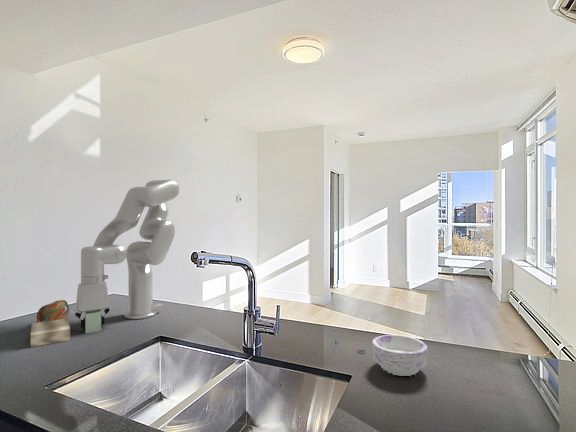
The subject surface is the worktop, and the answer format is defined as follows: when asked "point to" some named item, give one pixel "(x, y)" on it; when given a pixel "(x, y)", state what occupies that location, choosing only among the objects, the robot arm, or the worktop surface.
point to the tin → (53, 311)
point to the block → (92, 321)
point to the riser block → (50, 332)
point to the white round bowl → (399, 354)
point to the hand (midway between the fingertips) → (92, 327)
